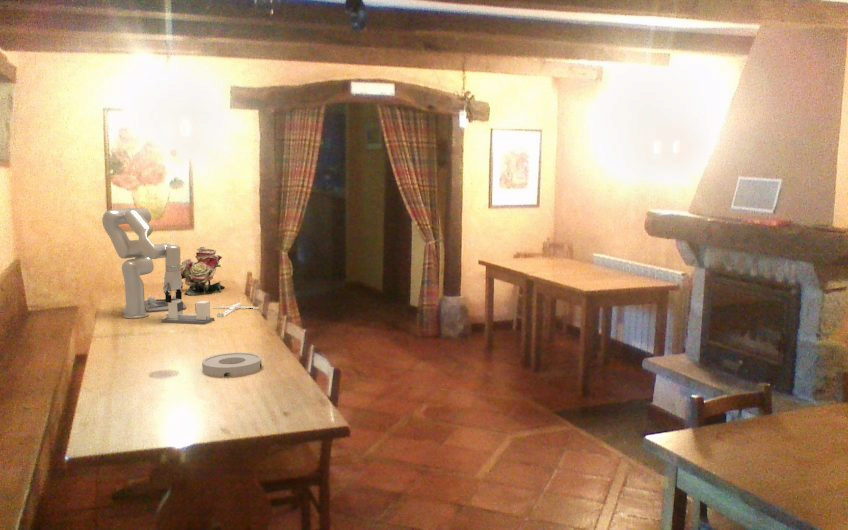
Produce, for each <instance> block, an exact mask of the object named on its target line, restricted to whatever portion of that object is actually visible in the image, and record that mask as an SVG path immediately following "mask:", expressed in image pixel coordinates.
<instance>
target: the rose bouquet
mask: <svg viewBox="0 0 848 530" xmlns="http://www.w3.org/2000/svg"><path fill="white" fill-rule="evenodd" d="M216 252H217V250H215V249H211V248H208V247H205V246H200V247H199V248H196V253H195V258H196V260H197V262H194V261H192V259H191V258H188V259H185V260H184V261H182V262H181V280H184V284H185V285H186V286H188V289H187V290H186V292H184V295H186V294H187V295H188V296H190V297H193V296H195V297H196V296H204V295H205V296H206V295H215V294H221V293H222V290H225V286H224V285H223V284H221V280H220V281H218V282H215V283H213V284H211V280H213V279H214V275H215V274H216V270H217V268H221V267H222V265H221V264H220V260H222V258H223V256H222V255H216ZM207 283H208V284H207Z"/></svg>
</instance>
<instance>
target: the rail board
mask: <svg viewBox="0 0 848 530" xmlns="http://www.w3.org/2000/svg"><path fill="white" fill-rule="evenodd" d="M210 303H211V301H209V300H208V301H207V300H200V301H197V302H195V304H194V306H195V307H194V309H195V314H185V313H183V314H180V315H178V316H179V318H178V319H175V318H169V313H166V317H165V318H162V319H161V323H165V324H166V323H167V324H169V323H170V324H187V325H188V324H190V325H207V324H210V323H211V322H214V321H215V317H211V304H210Z"/></svg>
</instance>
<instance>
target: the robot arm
mask: <svg viewBox="0 0 848 530" xmlns="http://www.w3.org/2000/svg"><path fill="white" fill-rule="evenodd" d="M101 221H102V227H103V229H104V230H105V232H106V234H107V235H108V236H109V237H108V238H110V241H111V243H112V245H113V247H114V250H115V252H116V254H117V256H118V257H119V258H120V259H124V260H125V259H127V260H125V261H124V262H123V263H122V265H121V272H122V275H123V280H124V292H125V293H124V295H125V306H126V308H121V309H120V313H124V314H123V318H124V319H141V318H146V317H148V316H149V312H147V311H146V308H145V301H146V300H145V287H144V282H143V280H142V278H141V276H144V275H149V274H151V273H153V271H154V266H155V265H154V264H155V263H154V261H153V260H157V259H158V260H159V259H164V258H165V259H164V260H165V261H164V262H165V272H164V277H163V287H162V289H163V293H164V295H165V296H164V297H165V298H164V299H165V302H168V303H171V302H172V301H171V299H172V292H174V291H175V294H176V299H181V300H182V299H183V297H182V296H183V293H182V292H183V289H184V288H183V287H184V282H183V279H181V278H182V277H181V265H182V262H181V247H180V245H177V244H170V243H167V242H165V243H164V242H163V243H156V244H153V243H152V242H151V241H150V240H149V238H148V237H149V236H151V234H152V233H153V231H154V228H153V226H152V225H151V224H150V222H151V221H152V215H151V212H150V211H149V210H148V209H147V208H143V207H142V208H134V207H129V208H126V207H125V208H113V209H108V210H107V211H105V212H104V214H103V216H102V219H101ZM120 225H128V226H129V227H130V228H131V230H132V231H133V232H134V233H135V234H136V236H137V237H138V239H132V240H131V239H130V238H129V236H128V235H127V232H126V231H125V230H124V229H123V228H122V227H121V226H120Z"/></svg>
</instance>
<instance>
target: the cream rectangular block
mask: <svg viewBox="0 0 848 530" xmlns="http://www.w3.org/2000/svg"><path fill="white" fill-rule="evenodd" d="M182 301H183V300H182V299H181V300H172V302H171V303H168V311H167V312H168V313H167V314H169V318H175V319H178V318H179V316H178V315H180V314H184V309H183V303H184V302H182Z"/></svg>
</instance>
